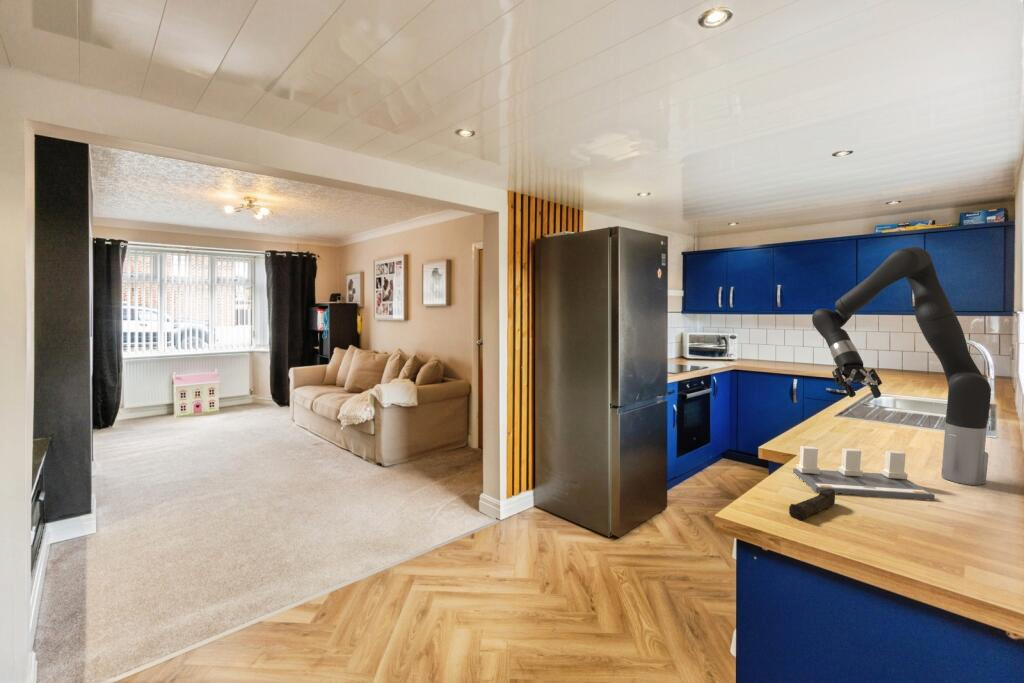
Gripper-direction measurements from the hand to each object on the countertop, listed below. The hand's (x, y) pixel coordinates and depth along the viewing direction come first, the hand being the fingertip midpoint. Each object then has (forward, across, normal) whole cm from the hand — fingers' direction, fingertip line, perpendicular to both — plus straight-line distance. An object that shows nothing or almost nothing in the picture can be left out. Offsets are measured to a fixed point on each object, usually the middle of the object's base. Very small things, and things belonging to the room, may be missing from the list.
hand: (865, 396), depth 160 cm
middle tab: (+25, -13, +4) cm, 28 cm away
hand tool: (+41, -39, -10) cm, 57 cm away
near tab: (+26, -1, +2) cm, 26 cm away
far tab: (+23, -25, +7) cm, 35 cm away
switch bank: (+29, -14, +2) cm, 33 cm away
